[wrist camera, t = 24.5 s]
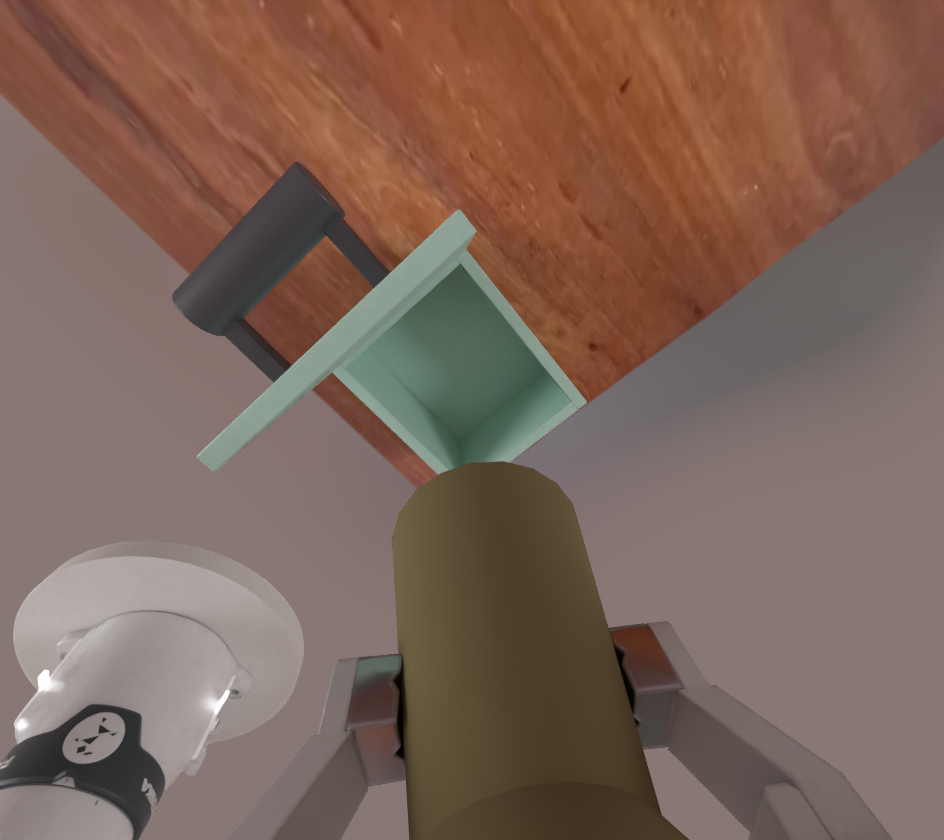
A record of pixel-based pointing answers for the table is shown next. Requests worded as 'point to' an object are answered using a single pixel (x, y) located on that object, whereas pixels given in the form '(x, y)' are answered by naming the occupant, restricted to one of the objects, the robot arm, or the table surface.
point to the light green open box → (460, 374)
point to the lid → (268, 261)
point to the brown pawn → (511, 670)
